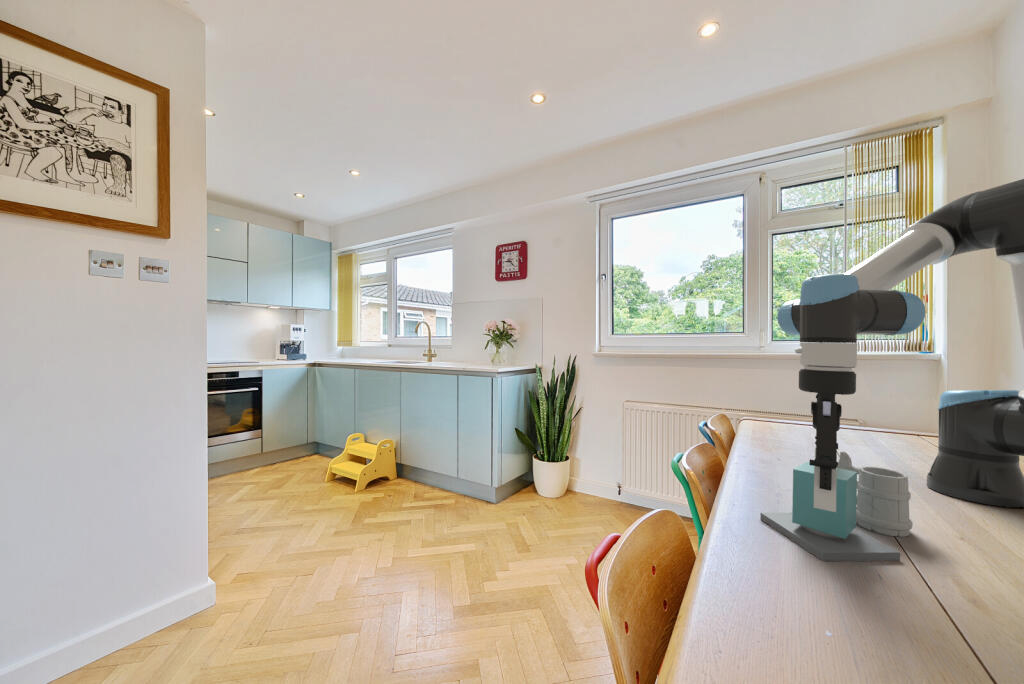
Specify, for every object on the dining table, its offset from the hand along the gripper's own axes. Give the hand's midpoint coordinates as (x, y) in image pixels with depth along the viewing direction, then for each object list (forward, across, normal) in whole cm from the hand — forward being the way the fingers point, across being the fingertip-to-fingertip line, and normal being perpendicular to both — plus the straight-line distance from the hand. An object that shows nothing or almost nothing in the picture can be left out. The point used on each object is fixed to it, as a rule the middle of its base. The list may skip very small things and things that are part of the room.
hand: (824, 496), depth 67 cm
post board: (+7, 0, 0) cm, 7 cm away
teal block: (+5, 0, 0) cm, 5 cm away
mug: (+7, -13, +6) cm, 16 cm away
